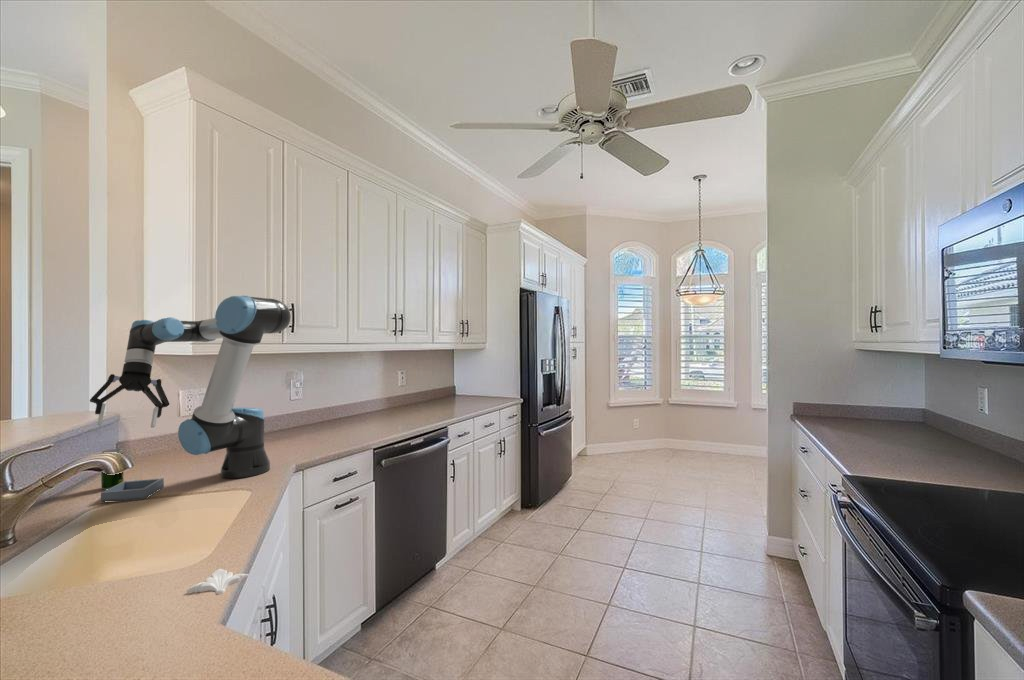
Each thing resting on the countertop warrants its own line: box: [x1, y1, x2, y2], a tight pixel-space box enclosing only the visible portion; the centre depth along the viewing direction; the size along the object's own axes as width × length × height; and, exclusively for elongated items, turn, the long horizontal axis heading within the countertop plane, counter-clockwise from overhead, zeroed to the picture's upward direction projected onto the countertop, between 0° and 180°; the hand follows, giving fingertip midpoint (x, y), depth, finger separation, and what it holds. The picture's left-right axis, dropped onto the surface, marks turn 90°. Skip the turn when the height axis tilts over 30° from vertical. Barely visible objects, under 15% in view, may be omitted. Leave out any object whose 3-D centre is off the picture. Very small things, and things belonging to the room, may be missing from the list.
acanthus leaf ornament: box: [186, 568, 250, 595], centre depth 85 cm, size 8×7×2 cm
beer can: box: [100, 448, 124, 491], centre depth 145 cm, size 5×5×12 cm
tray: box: [100, 477, 165, 503], centre depth 137 cm, size 11×11×3 cm
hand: (127, 425), depth 145 cm, fingers open, 13 cm apart
